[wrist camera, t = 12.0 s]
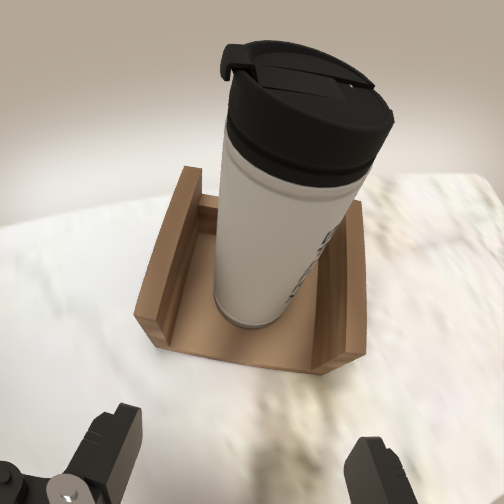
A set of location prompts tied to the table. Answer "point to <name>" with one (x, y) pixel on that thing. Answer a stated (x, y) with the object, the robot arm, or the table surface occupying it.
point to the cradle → (245, 339)
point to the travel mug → (287, 170)
